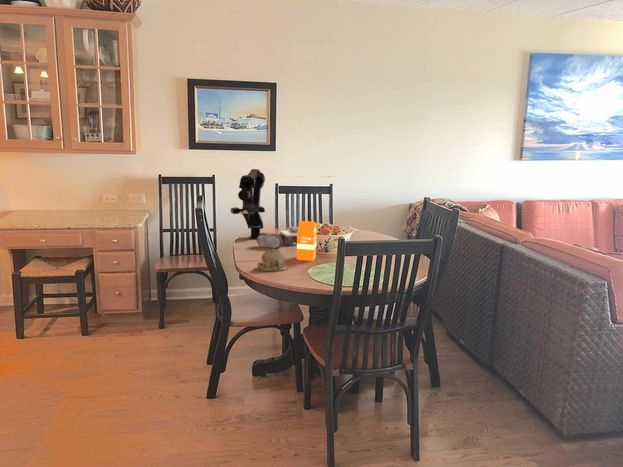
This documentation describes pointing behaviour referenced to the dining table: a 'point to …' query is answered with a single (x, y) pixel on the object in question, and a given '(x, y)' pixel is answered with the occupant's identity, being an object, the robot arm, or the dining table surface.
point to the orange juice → (306, 241)
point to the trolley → (289, 236)
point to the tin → (269, 240)
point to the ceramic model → (272, 261)
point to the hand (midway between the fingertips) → (247, 224)
